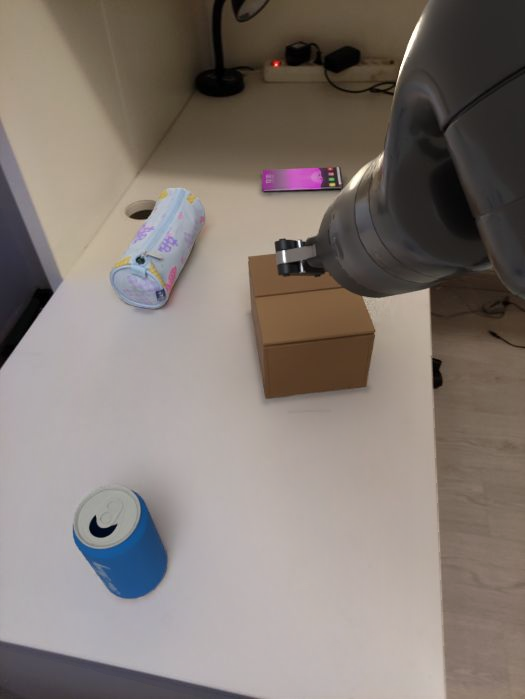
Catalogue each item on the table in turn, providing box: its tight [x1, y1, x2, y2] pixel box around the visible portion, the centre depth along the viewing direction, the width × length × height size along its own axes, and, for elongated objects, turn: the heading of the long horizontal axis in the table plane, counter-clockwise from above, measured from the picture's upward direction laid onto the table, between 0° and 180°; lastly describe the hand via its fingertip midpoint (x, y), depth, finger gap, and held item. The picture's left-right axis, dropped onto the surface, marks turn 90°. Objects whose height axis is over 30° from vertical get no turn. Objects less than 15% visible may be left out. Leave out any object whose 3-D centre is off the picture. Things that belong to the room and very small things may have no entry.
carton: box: [247, 253, 376, 400], centre depth 70 cm, size 16×13×10 cm
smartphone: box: [261, 166, 344, 193], centre depth 102 cm, size 7×15×1 cm, turn 89°
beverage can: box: [72, 484, 168, 600], centre depth 50 cm, size 6×6×12 cm
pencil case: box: [109, 187, 206, 310], centre depth 82 cm, size 21×9×10 cm, turn 166°
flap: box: [255, 288, 376, 345], centre depth 64 cm, size 8×13×1 cm, turn 97°
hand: (335, 263), depth 48 cm, fingers closed
